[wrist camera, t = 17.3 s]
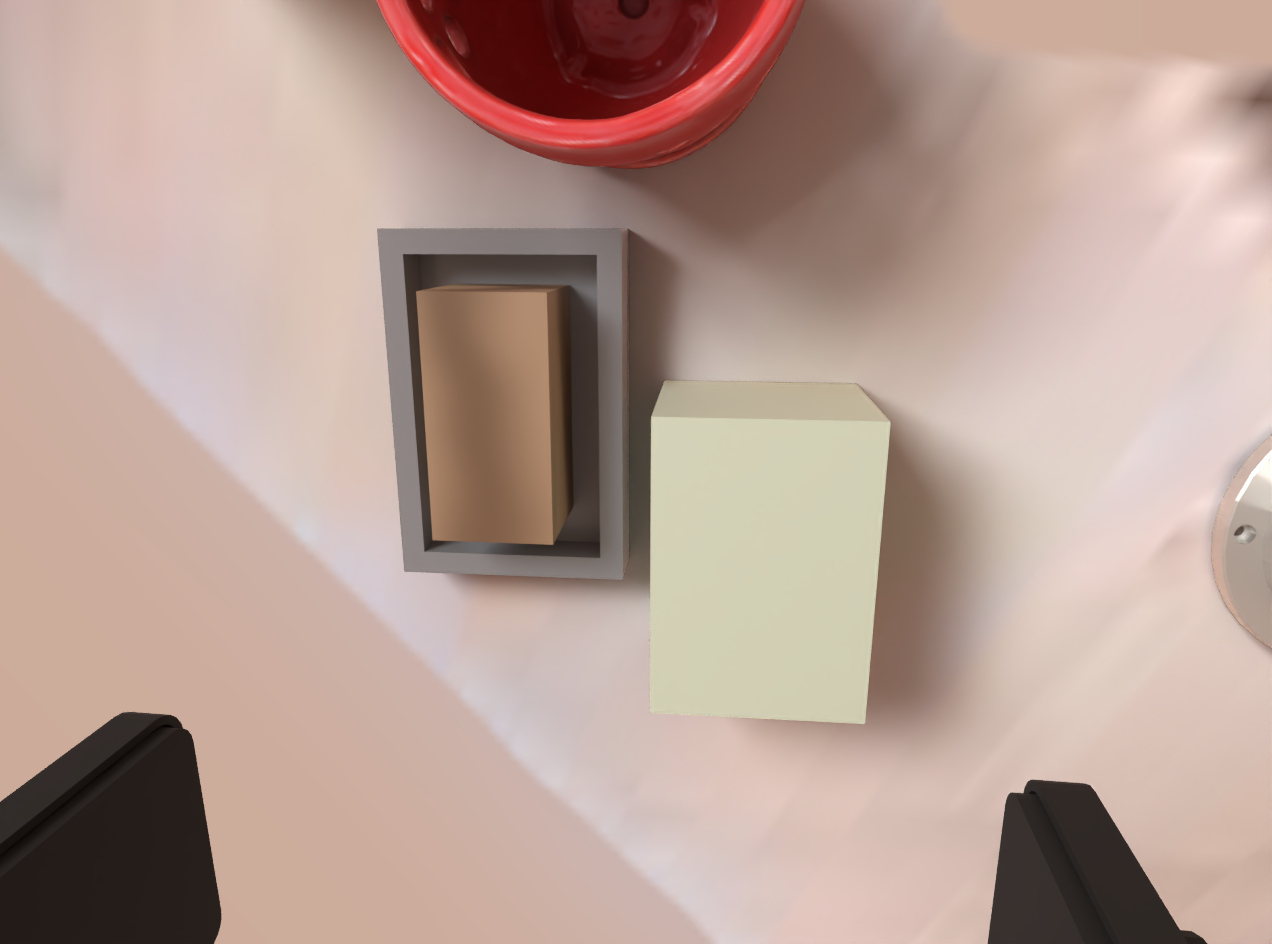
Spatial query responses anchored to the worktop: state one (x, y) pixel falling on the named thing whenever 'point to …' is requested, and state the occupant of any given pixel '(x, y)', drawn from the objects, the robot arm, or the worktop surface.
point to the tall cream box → (764, 548)
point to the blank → (497, 410)
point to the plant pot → (596, 69)
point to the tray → (597, 387)
